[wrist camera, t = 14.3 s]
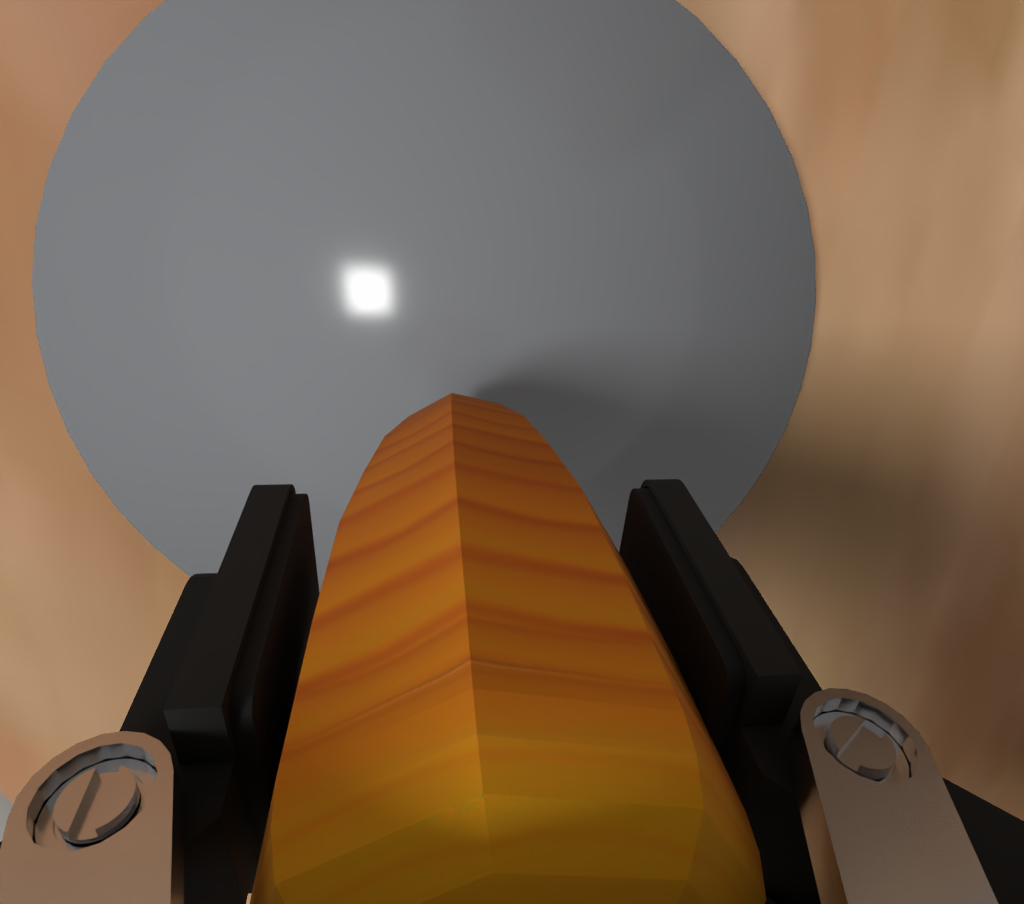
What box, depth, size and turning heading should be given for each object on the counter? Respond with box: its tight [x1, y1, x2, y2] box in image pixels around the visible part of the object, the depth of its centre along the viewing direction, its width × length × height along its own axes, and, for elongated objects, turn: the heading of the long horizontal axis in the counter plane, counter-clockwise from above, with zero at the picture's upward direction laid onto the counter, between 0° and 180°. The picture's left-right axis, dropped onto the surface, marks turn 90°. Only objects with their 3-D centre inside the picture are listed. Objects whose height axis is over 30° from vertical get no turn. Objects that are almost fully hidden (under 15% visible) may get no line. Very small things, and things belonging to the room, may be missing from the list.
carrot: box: [250, 393, 766, 904], centre depth 9 cm, size 5×5×15 cm
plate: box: [32, 0, 816, 592], centre depth 16 cm, size 18×18×1 cm
